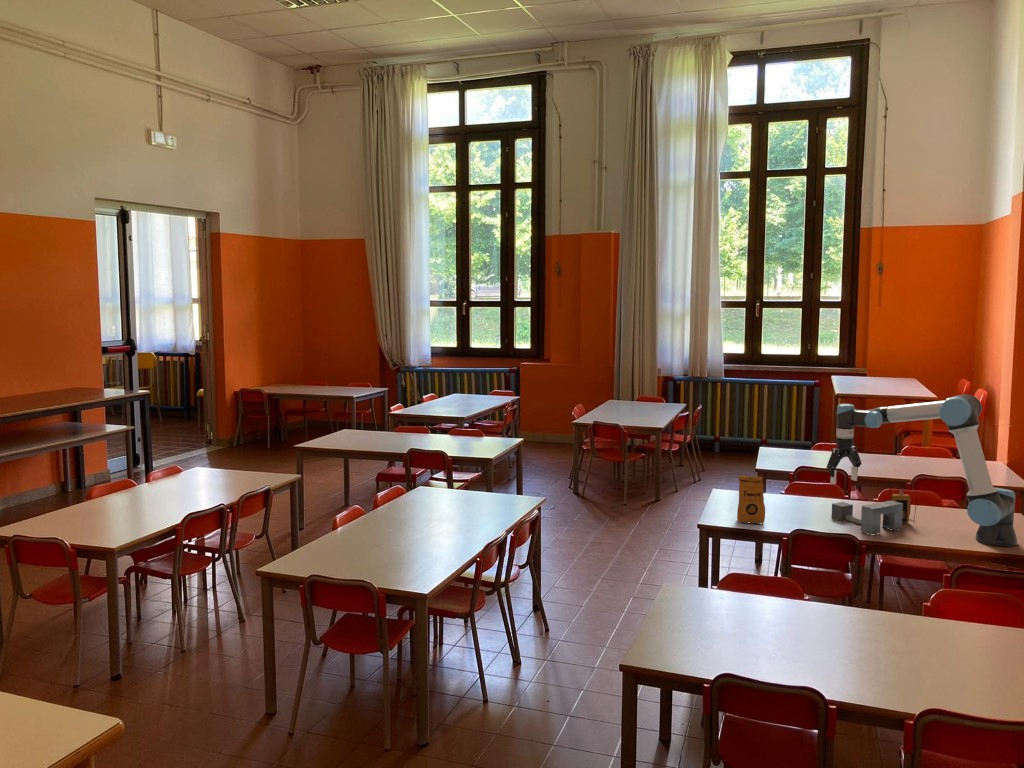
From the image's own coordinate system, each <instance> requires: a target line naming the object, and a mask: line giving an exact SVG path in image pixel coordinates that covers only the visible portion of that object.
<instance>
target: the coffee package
mask: <svg viewBox="0 0 1024 768" xmlns="http://www.w3.org/2000/svg"><path fill="white" fill-rule="evenodd" d="M763 479H764V478H763V476H752V475H751V476H750V475H749V476H748V475H738V481H739V485H738V503H737V504H738V505H737V513H736V520H737V521H738V523H742V522H750V523H749V524H751V523H763V524H764V522H765V519H766V506H765V502H764V501H765V500H764V499H765V497H764V482H763Z"/></svg>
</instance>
